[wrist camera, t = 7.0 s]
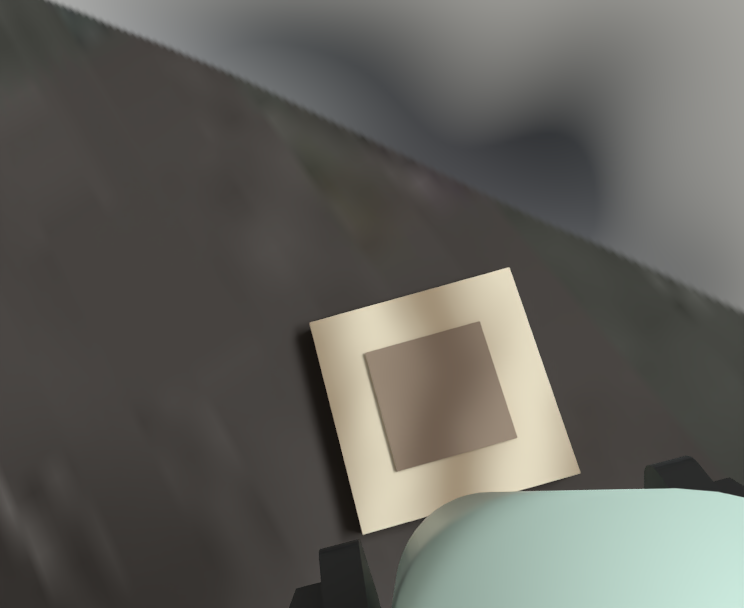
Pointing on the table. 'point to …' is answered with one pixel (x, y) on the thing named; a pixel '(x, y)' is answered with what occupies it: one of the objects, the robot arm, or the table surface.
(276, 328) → the table surface
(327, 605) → the robot arm
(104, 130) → the table surface
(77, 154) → the table surface
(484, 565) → the tube
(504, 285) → the board
